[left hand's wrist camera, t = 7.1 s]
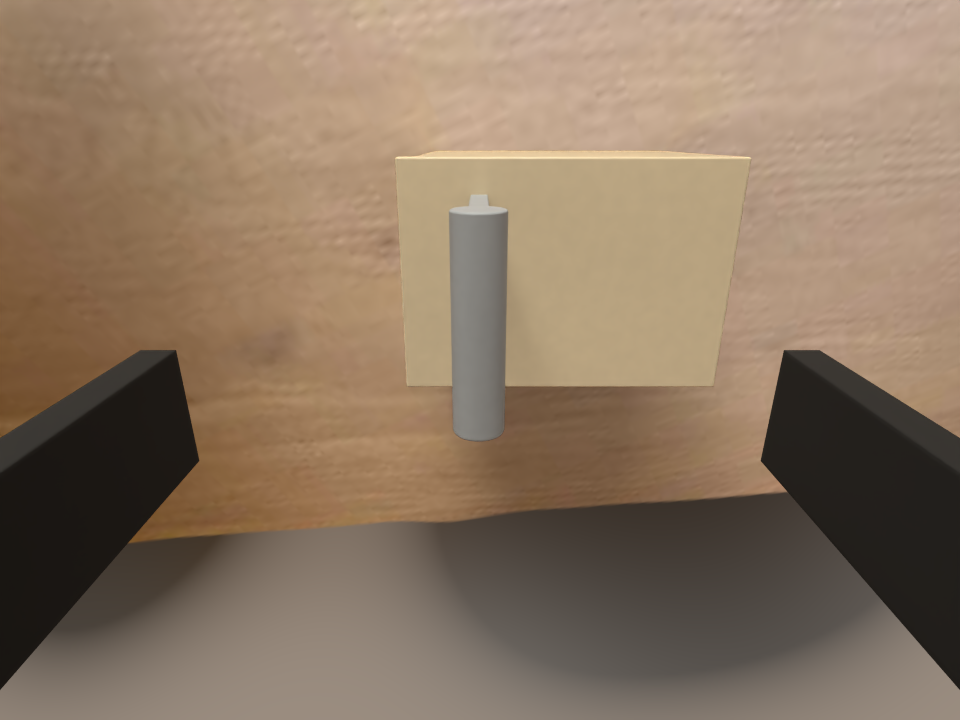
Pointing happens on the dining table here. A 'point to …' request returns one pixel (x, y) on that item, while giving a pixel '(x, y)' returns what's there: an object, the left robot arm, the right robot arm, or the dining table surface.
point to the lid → (563, 273)
